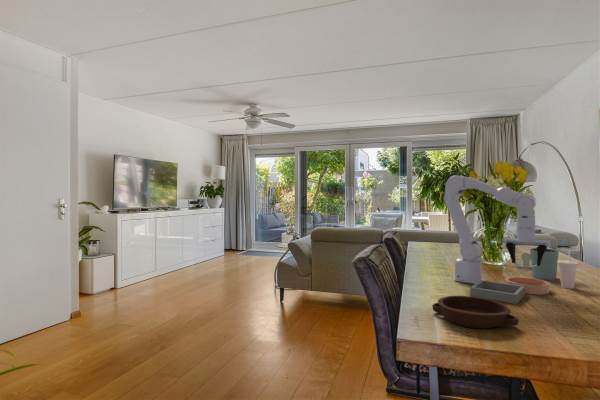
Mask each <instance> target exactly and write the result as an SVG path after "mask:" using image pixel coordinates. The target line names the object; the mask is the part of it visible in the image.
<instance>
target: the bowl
mask: <svg viewBox="0 0 600 400" xmlns="http://www.w3.org/2000/svg"><path fill="white" fill-rule="evenodd" d="M504 283H505V284H512V285H519V286H525V295H526V294H528V295H547V294H549V293H550V291H551V288H550V287H551V286H550V285H551V284H550V282H548V281H546V280H544V279H537V278H534V277H525V276H508V277H506V278H504Z"/></svg>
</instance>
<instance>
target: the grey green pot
mask: <svg viewBox="0 0 600 400" xmlns="http://www.w3.org/2000/svg"><path fill="white" fill-rule="evenodd" d="M559 252H560V251H559V250H558V249H554V248H549V247H547V249H546V251H545V252H544V254H543V257H542V260H541V264H540V266H536V267H534V268H532V269H535V271H531V278H535V279H539V280H544V281H546V280H547V281H554V279H555V280H556V279H557V274H558V271H557V270H558V264H557V261H559ZM529 254H530V255H531V260H530V266H534V265H537V258H538V256H537V247H532V248H529Z"/></svg>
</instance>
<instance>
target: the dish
mask: <svg viewBox="0 0 600 400" xmlns="http://www.w3.org/2000/svg"><path fill="white" fill-rule="evenodd" d="M431 306H432V310H433V312H435V313H438V314H440V315H442V316H443V317H444V318H445V319H446V320H448V321H449V322H450V323H453V324H455V325H458V326H462V327H465V328H471V329H472V328H473V329H493V328H497V327H500V326H503V325H505V326H507V325H508V326H518V325H519V322H520V321H519V317H517V316H514V315H512V314H511V313H512V310H511V309H510V308H509V307H508V306H507V305H506V304H504V303H503V302H502V303H501V302H500V301H496V300H491V299H485V298H479V297H474V296H470V295H469V296H468V295H449V296H444V297H440V298H439V299H438V300H437V302H435V303H432V305H431Z"/></svg>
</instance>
